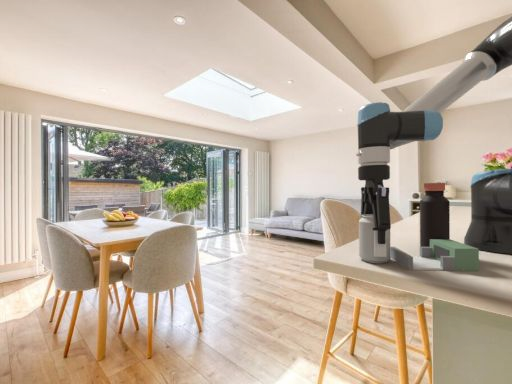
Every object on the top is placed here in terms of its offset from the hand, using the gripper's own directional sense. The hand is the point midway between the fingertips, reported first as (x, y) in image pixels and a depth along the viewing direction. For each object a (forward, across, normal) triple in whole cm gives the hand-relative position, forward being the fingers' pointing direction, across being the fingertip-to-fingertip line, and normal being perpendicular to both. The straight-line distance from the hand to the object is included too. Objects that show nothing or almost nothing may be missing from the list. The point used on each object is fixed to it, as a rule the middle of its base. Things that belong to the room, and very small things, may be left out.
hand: (374, 251), depth 67 cm
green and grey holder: (+2, +2, +13) cm, 13 cm away
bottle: (+2, -7, +19) cm, 20 cm away
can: (+2, 0, 0) cm, 2 cm away
